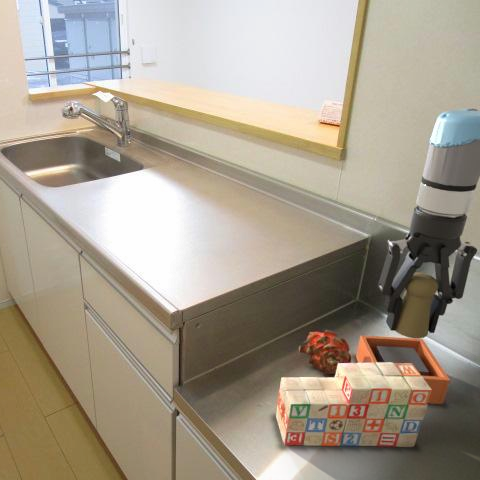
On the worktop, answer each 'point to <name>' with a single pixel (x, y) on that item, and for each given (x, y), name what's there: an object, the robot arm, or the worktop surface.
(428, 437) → the worktop surface
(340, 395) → the stack of blocks
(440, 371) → the crate
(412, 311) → the cork
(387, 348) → the grey block
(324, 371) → the dragon fruit
